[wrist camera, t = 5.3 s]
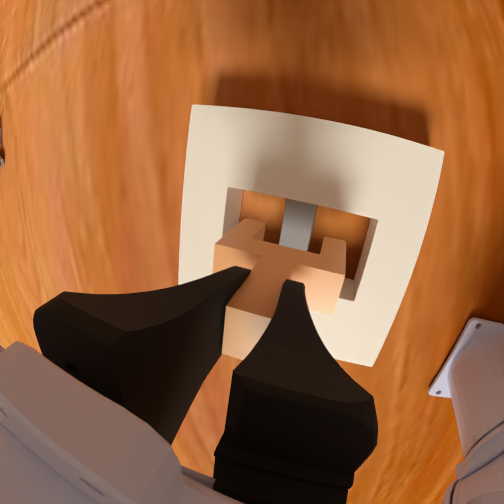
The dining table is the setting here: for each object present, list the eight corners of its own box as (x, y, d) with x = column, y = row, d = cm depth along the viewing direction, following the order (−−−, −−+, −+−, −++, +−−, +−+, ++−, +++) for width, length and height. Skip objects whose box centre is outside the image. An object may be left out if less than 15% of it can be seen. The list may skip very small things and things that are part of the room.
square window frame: (429, 150, 15) (444, 151, 12) (370, 340, 21) (372, 366, 18) (213, 108, 18) (192, 104, 15) (196, 294, 24) (178, 313, 21)
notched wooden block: (346, 241, 15) (341, 336, 8) (337, 274, 16) (323, 381, 9) (244, 217, 16) (165, 286, 9) (240, 250, 17) (167, 334, 10)
